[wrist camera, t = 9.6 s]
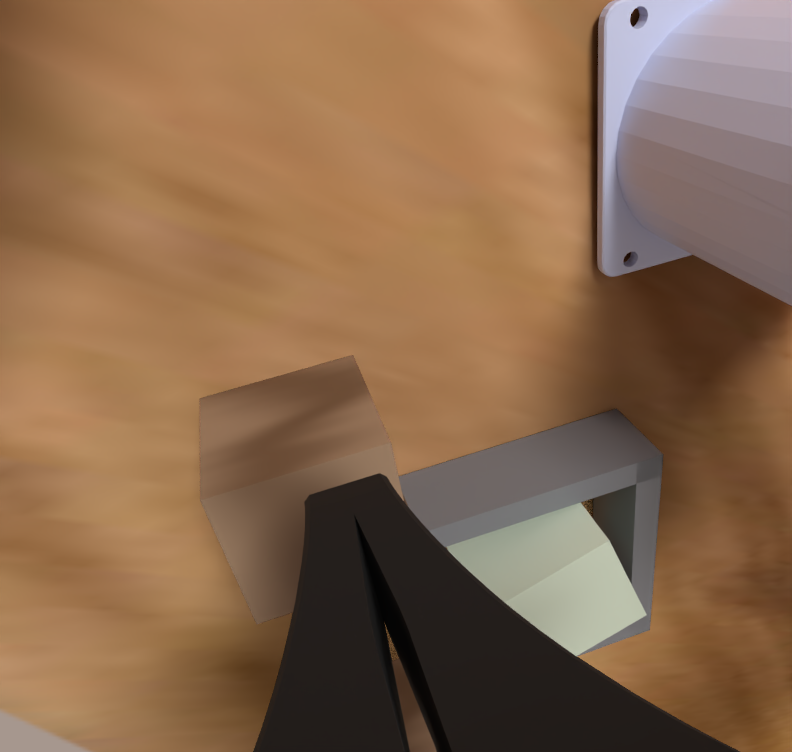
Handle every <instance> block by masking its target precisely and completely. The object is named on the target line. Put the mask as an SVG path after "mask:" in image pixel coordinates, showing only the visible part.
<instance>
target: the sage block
mask: <svg viewBox="0 0 792 752" xmlns="http://www.w3.org/2000/svg"><path fill="white" fill-rule="evenodd" d="M447 549H448V551H449V552H450V553H451V554H452V555H453V556H454V557H455V558H456V559H457V560H458V561H459V562H460V563H461V564H462V565H463V566H464V567H465V568H466V569H467V570H468V571H469V572H471V573H472V574H473V575H474V576H475V577H476V578H477V579H478V580H479V581H481V582H482V583H483V584H484V585H485V586H486V587H487V588H488V589H489V590H491V591H492V592H493V593H494V594H495V595H496V596H498V597H499V598H500V599H501V600H502V601H504V602H505V603H506V604H507V605H508V606H510V607H511V608H512V609H513V610H515V611H516V612H517V613H518V614H520V615H521V616H522V617H523V618H525V619H526V620H527V621H529V622H530V623H531V624H533V625H534V626H535V627H536V628H538V629H539V630H540V631H542V632H543V633H544V634H546V635H547V636H549V637H550V638H551V639H553V640H554V641H556V642H557V643H558V644H560V645H561V646H562V647H564V648H565V649H567V650H568V651H569V652H571V653H572V654H574V655H575V656H578V655H579V654H581V653H583V652H584V651H586V650H588V649H590V648H591V647H593V646H595V645H596V644H598V643H600V642H602V641H603V640H605V639H607V638H608V637H610V636H612V635H613V634H615V633H617V632H619V631H620V630H622V629H624V628H625V627H627V626H629V625H631V624H632V623H634V622H636V621H637V620H639V619H641V618H642V617H644V616H646V615H647V614H646V612H645V610H644V608H643V606H642V604H641V602H640V601H639V599H638V597H637V595H636V593H635V591H634V589H633V587H632V585H631V583H630V581H629V579H628V577H627V575H626V573H625V571H624V569H623V567H622V565H621V563H620V561H619V559H618V557H617V555H616V553H615V551H614V549H613V547H612V545H611V543H610V541H609V539H608V538H607V537H606V535H605V534H604V533H603V531H602V530H601V529H600V527H599V526H598V525H597V524H596V522H595V521H594V520H593V518H592V517H591V516H590V514H589V513H588V512H587V510H586V509H585V508H584V506H583V505H582V504H581V502H580V503H577V504H574V505H571V506H568V507H565V508H562V509H559V510H556V511H553V512H550V513H547V514H544V515H541V516H538V517H535V518H532V519H529V520H526V521H523V522H520V523H517V524H514V525H511V526H508V527H505V528H502V529H499V530H496V531H493V532H489V533H486V534H483V535H480V536H477V537H474V538H471V539H468V540H465V541H462V542H459V543H456V544H453V545H450V546H447Z"/></svg>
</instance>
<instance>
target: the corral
mask: <svg viewBox="0 0 792 752" xmlns="http://www.w3.org/2000/svg"><path fill="white" fill-rule="evenodd" d="M662 465H663V454H662V453H661V452H660V451H659V450H658V449H657V448H656V447H655V446H654V445H653V444H652V443H651V442H650V441H649V440H648V439H647V438H646V437H645V436H644V435H643V434H642V433H641V432H640V431H639V430H638V429H637V428H636V427H635V426H634V425H633V424H632V423H631V422H630V421H629V420H628V419H627V418H626V417H625V416H624V415H623V414H622V413H621V412H620V411H619V410H618V409H614V410H611V411H607V412H604V413H601V414H598V415H595V416H591V417H588V418H585V419H582V420H579V421H575V422H572V423H569V424H566V425H563V426H559V427H556V428H553V429H550V430H547V431H543V432H540V433H537V434H534V435H530V436H527V437H524V438H521V439H518V440H514V441H511V442H508V443H505V444H502V445H498V446H495V447H492V448H489V449H486V450H482V451H479V452H476V453H473V454H470V455H466V456H463V457H460V458H457V459H454V460H450V461H447V462H444V463H441V464H437V465H434V466H431V467H428V468H425V469H421V470H418V471H415V472H412V473H409V474H405V475H402V476H399V481H400V485H401V490H402V494H403V499H404V502H405V503H406V505H407V506H408V507H409V508H410V510H411V511H412V512H413V513H414V514H415V516H416V517H417V518H418V519H419V520H420V521H421V523H422V524H423V525H424V526H425V527H426V528H427V529H428V530H429V531H430V532H431V534H432V535H433V536H434V537H435V538H436V539H437V540H438V541H439V542H440V543H441V544H442V545H443V546H444V547H447V546H450V545H453V544H456V543H459V542H462V541H465V540H468V539H471V538H474V537H477V536H480V535H483V534H486V533H489V532H493V531H496V530H499V529H502V528H505V527H508V526H511V525H514V524H517V523H520V522H523V521H526V520H529V519H532V518H535V517H538V516H541V515H544V514H547V513H550V512H553V511H556V510H559V509H562V508H565V507H568V506H571V505H574V504H577V503H580V502H583V501H586V500H589V499H592V498H593V520H594V521H595V522H596V524H597V525H598V526H599V527H600V529H601V530H602V531H603V533H604V534H605V535H606V537H607V538H608V539H609V541H610V543H611V545H612V547H613V549H614V551H615V553H616V555H617V557H618V559H619V561H620V563H621V565H622V567H623V569H624V571H625V573H626V575H627V577H628V579H629V581H630V583H631V585H632V587H633V589H634V591H635V593H636V595H637V597H638V599H639V601H640V602H641V604H642V606H643V608H644V610H645V612H646V614H647V615H646V616H644V617H642V618H641V619H639V620H637V621H636V622H634V623H632V624H631V625H629V626H627V627H625V628H624V629H622V630H620V631H619V632H617V633H615V634H613V635H612V636H610V637H608V638H607V639H605V640H603V641H602V642H600V643H598V644H596V645H595V646H593V647H591V648H590V649H588V650H586V651H584V652H583V653H581V654H579V655H582V654H585V653H588V652H590V651H593V650H596V649H599V648H601V647H604V646H607V645H610V644H612V643H615V642H618V641H621V640H623V639H626V638H629V637H631V636H634V635H637V634H640V633H642V632H645V631H648V630H650V619H651V606H652V594H653V581H654V568H655V555H656V542H657V529H658V517H659V504H660V491H661V478H662ZM579 655H578V656H579Z"/></svg>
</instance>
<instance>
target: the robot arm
mask: <svg viewBox="0 0 792 752" xmlns="http://www.w3.org/2000/svg"><path fill="white" fill-rule="evenodd" d="M635 8H637V9H638V10H639V15H640V16H639V20H638V22H637V23H636V25H635V26H634V27H632V26H631V23H630V17H631V13H632V12H633V11H634V9H635ZM629 252H631V256H630V258H629V259H628V261H626V262H623V260H624V257H625V256H626V254H627V253H629ZM690 255H694V256H696V257H698V258H700V259H702V260H704V261H706V262H708V263H710V264H712V265H714V266H716V267H718V268H719V269H721V270H723V271H725V272H727V273H729V274H731V275H733V276H735V277H737V278H739V279H741V280H742V281H744V282H746V283H748V284H750V285H752V286H754V287H756V288H758V289H760V290H762V291H764V292H766V293H767V294H769V295H771V296H773V297H775V298H777V299H779V300H781V301H783V302H785V303H787V304H789V305H791V306H792V0H614V1H612V2H610V3H608V4H607V5H606V6H605V8H604V9H603V10H602V12H601V15H600V17H599V23H598V201H597V265H598V269H599V270H600V271H601V272H602V273H603V274H605V275H607V276H609V277H616V276H619V275H623V274H627V273H630V272H634V271H637V270H641V269H644V268H648V267H651V266H655V265H658V264H662V263H666V262H669V261H673V260H676V259H680V258H683V257H687V256H690ZM304 505H305V533H304V545H303V554H302V563H301V569H300V575H299V581H298V588H297V594H296V600H295V605H294V610H293V615H292V619H291V624H290V628H289V632H288V637H287V641H286V645H285V650H284V654H283V658H282V662H281V665H280V669H279V673H278V676H277V680H276V684H275V687H274V690H273V694H272V697H271V700H270V703H269V707H268V710H267V713H266V716H265V719H264V722H263V725H262V728H261V731H260V734H259V737H258V740H257V742H256V745H255V748H254V751H253V752H410V749H409V744H408V739H407V734H406V729H405V724H404V719H403V714H402V709H401V704H400V699H399V694H398V689H397V684H396V678H395V673H394V668H393V663H392V658H391V653H390V648H389V643H388V638H387V633H386V628H385V625H386V627H387V630H388V632H389V634H390V637H391V639H392V642H393V644H394V647H395V649H396V652H397V654H398V657H399V659H400V662H401V664H402V667H403V669H404V671H405V674H406V676H407V679H408V681H409V684H410V686H411V689H412V691H413V694H414V696H415V698H416V701H417V703H418V706H419V708H420V711H421V713H422V716H423V718H424V721H425V723H426V725H427V728H428V730H429V733H430V735H431V738H432V740H433V743H434V745H435V748H436V751H437V752H740V751H738V750H736V749H734V748H732V747H730V746H728V745H726V744H724V743H722V742H720V741H718V740H716V739H714V738H712V737H711V736H709V735H707V734H705V733H703V732H701V731H699V730H698V729H696V728H694V727H692V726H690V725H688V724H686V723H685V722H683V721H681V720H679V719H677V718H676V717H674V716H672V715H671V714H669V713H667V712H665V711H664V710H662V709H660V708H658V707H657V706H655V705H653V704H652V703H650V702H648V701H646V700H645V699H643V698H641V697H639V696H638V695H636V694H634V693H633V692H631V691H630V690H628V689H627V688H625V687H623V686H622V685H620V684H619V683H617V682H616V681H614V680H613V679H611V678H609V677H608V676H606V675H605V674H603V673H602V672H600V671H599V670H597V669H595V668H594V667H592V666H591V665H589V664H588V663H586V662H585V661H583V660H581V659H580V658H578V657H577V656H575V655H574V654H572V653H571V652H569V651H568V650H567V649H565V648H564V647H562V646H561V645H560V644H558V643H557V642H556V641H554V640H553V639H551V638H550V637H549V636H547V635H546V634H544V633H543V632H542V631H540V630H539V629H538V628H536V627H535V626H534V625H533V624H531V623H530V622H529V621H527V620H526V619H525V618H523V617H522V616H521V615H520V614H518V613H517V612H516V611H515V610H513V609H512V608H511V607H510V606H508V605H507V604H506V603H505V602H504V601H502V600H501V599H500V598H499V597H498V596H496V595H495V594H494V593H493V592H492V591H491V590H489V589H488V588H487V587H486V586H485V585H484V584H483V583H482V582H481V581H479V580H478V579H477V578H476V577H475V576H474V575H473V574H472V573H471V572H469V571H468V570H467V569H466V568H465V567H464V566H463V565H462V564H461V563H460V562H459V561H458V560H457V559H456V558H455V557H454V556H453V555H452V554H451V553H450V552H449V551H448V550H447V549H446V548H445V547H444V546H443V545H442V544H441V543H440V542H439V541H438V540H437V539H436V538H435V537H434V536H433V535H432V534H431V532H430V531H429V530H428V529H427V528H426V527H425V526H424V525H423V524H422V523H421V521H420V520H419V519H418V518H417V517H416V516H415V514H414V513H413V512H412V511H411V510H410V508H409V507H408V506H407V505H406V503H405V502H404V501H403V500H402V498H401V497H400V496H399V494H398V493H397V492H396V490H395V489H394V487H393V486H392V484H391V483H390V481H389V479H388V478H387V476H385V475H383V474H380V473H378V474H375V475H372V476H368V477H365V478H362V479H359V480H356V481H352V482H349V483H346V484H343V485H339V486H336V487H333V488H330V489H327V490H323V491H320V492H317V493H314V494H310V495H309V496H308V497H307V499H306V500H305V502H304ZM384 622H385V623H384Z"/></svg>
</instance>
